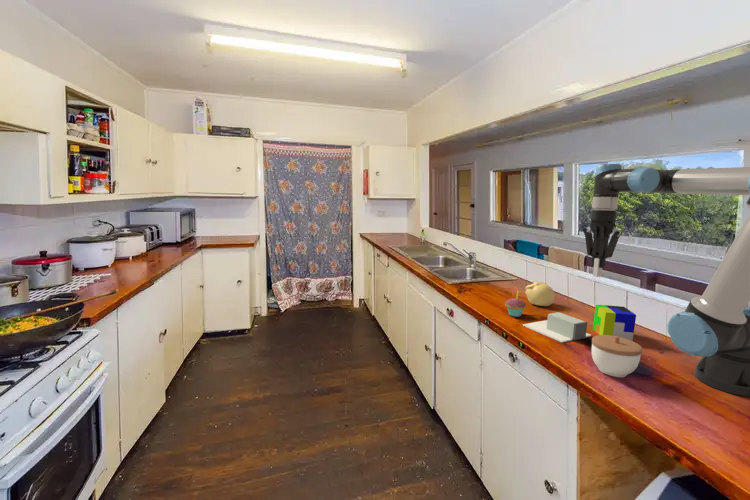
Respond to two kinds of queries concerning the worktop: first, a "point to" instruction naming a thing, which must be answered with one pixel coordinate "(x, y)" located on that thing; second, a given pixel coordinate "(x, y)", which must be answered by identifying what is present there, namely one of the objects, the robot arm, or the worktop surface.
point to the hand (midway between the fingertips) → (597, 276)
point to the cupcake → (515, 306)
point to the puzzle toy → (614, 321)
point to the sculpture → (540, 294)
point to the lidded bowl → (615, 355)
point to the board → (548, 331)
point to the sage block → (567, 326)
